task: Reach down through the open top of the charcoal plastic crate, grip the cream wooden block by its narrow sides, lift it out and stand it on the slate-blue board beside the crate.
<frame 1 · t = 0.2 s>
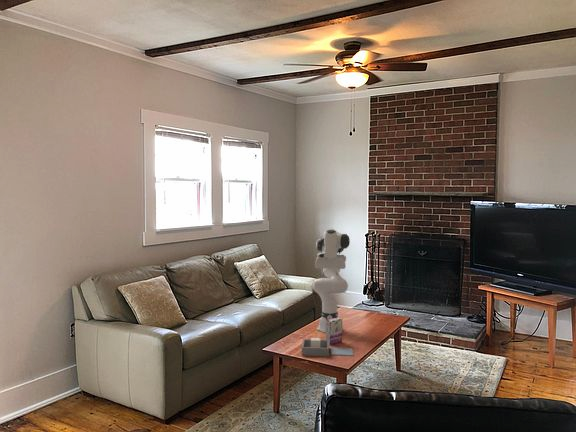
hand: (330, 275, 301), 47 cm above the table, tool pointing down, fingers open, 8 cm apart
coaster board: (341, 352, 291), on the table
cream block: (315, 345, 291), in the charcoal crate
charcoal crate: (315, 351, 292), on the table
candy bar box: (333, 343, 308), on the table
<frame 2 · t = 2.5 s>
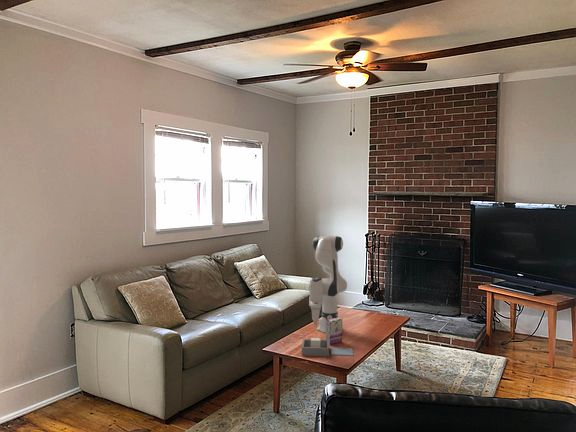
hand: (315, 324, 290), 18 cm above the table, tool pointing down, fingers open, 8 cm apart
nothing on the table moved.
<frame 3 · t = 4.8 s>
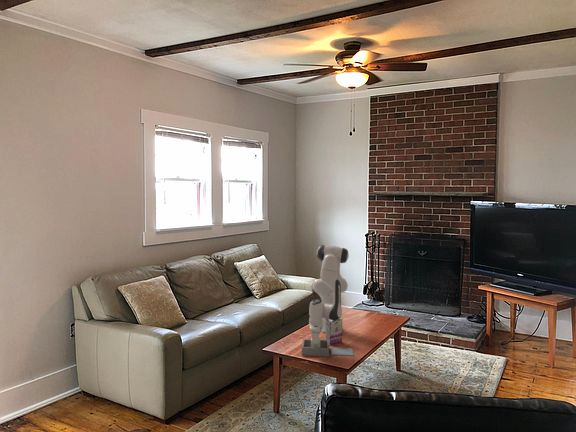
hand: (315, 346, 292), 3 cm above the table, tool pointing down, fingers closed on cream block, 4 cm apart
cream block: (315, 345, 291), in the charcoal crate, touching gripper
everything else where it was.
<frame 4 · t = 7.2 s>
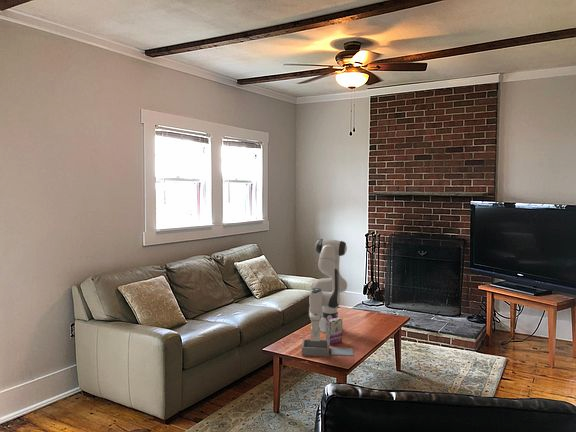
hand: (315, 334, 291), 11 cm above the table, tool pointing down, fingers closed on cream block, 4 cm apart
cream block: (315, 333, 291), point 12 cm above the table, touching gripper
everything else where it was.
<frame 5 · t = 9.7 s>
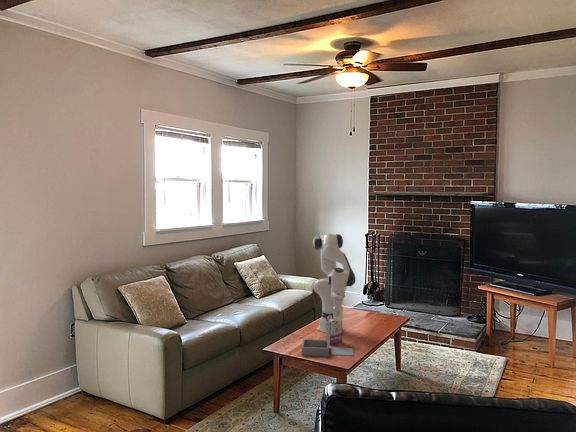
hand: (337, 315, 289), 24 cm above the table, tool pointing down, fingers closed on cream block, 4 cm apart
cream block: (337, 313, 289), point 25 cm above the table, touching gripper
everything else where it was.
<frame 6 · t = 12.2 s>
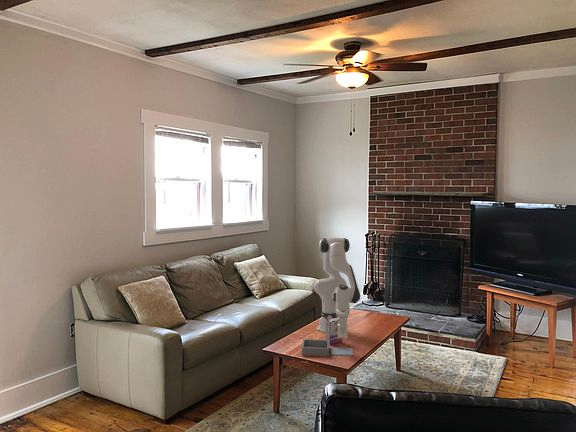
hand: (342, 332, 290), 13 cm above the table, tool pointing down, fingers closed on cream block, 4 cm apart
cream block: (342, 330, 290), point 14 cm above the table, touching gripper
everything else where it was.
when the fingers open (5 cm above the table, at t = 14.5 s): cream block drops 1 cm, resting on coaster board.
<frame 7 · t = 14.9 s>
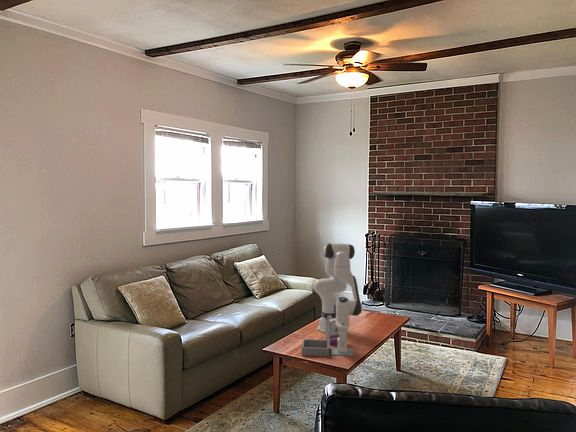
hand: (342, 344, 290), 5 cm above the table, tool pointing down, fingers open, 8 cm apart
cream block: (342, 345, 290), on the coaster board, point 5 cm above the table
everything else where it was.
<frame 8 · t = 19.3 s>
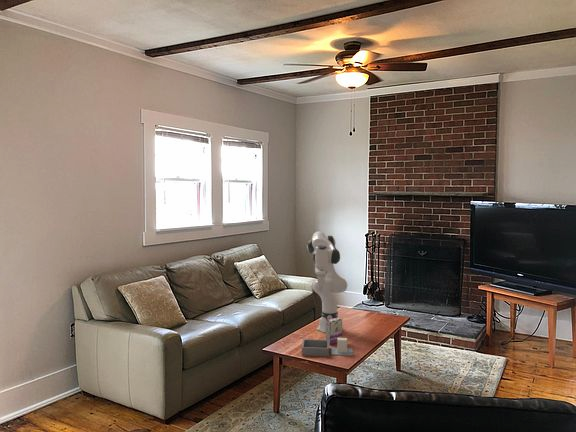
hand: (321, 291, 300), 37 cm above the table, tool pointing down, fingers open, 8 cm apart
nothing on the table moved.
at the end: cream block inside the target area on the coaster board (0.1 cm from its centre), point 4.6 cm above the coaster board's base; cream block tilted 0°; the gripper is holding nothing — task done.
